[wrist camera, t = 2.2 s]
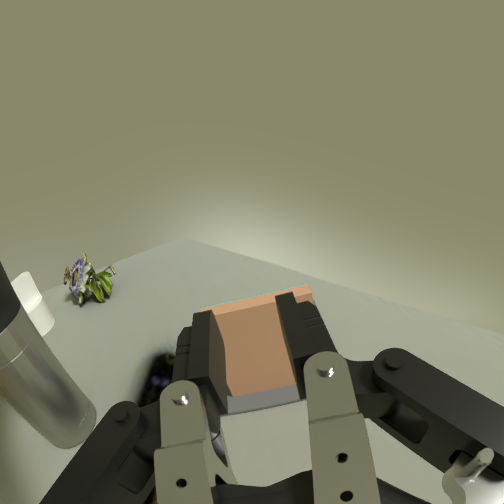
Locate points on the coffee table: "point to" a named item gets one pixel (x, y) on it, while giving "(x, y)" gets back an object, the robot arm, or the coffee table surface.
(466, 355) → the coffee table surface
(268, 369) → the tile
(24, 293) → the cylinder with rectangular tab
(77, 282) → the passion flower
